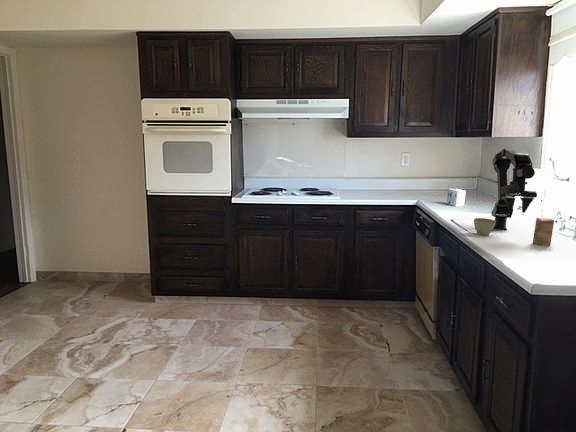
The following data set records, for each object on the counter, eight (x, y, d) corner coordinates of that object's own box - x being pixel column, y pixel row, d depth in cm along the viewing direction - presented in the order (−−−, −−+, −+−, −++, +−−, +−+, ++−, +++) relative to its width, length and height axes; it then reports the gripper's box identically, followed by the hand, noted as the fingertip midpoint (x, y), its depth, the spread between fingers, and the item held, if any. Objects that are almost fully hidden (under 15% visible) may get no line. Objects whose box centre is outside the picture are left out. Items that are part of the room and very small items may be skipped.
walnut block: (532, 243, 218) (536, 217, 216) (544, 243, 219) (548, 218, 217) (538, 245, 214) (542, 219, 212) (550, 245, 215) (554, 219, 213)
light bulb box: (446, 203, 324) (447, 188, 322) (454, 203, 326) (456, 188, 324) (455, 206, 314) (457, 190, 312) (464, 206, 316) (466, 190, 314)
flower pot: (467, 232, 236) (469, 218, 234) (483, 231, 239) (485, 217, 238) (482, 237, 226) (484, 222, 225) (498, 236, 230) (500, 221, 229)
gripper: (491, 179, 234) (489, 210, 235) (518, 177, 216) (515, 212, 217) (511, 180, 237) (508, 212, 238) (539, 179, 219) (536, 213, 219)
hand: (516, 212), depth 228 cm, fingers open, 9 cm apart
